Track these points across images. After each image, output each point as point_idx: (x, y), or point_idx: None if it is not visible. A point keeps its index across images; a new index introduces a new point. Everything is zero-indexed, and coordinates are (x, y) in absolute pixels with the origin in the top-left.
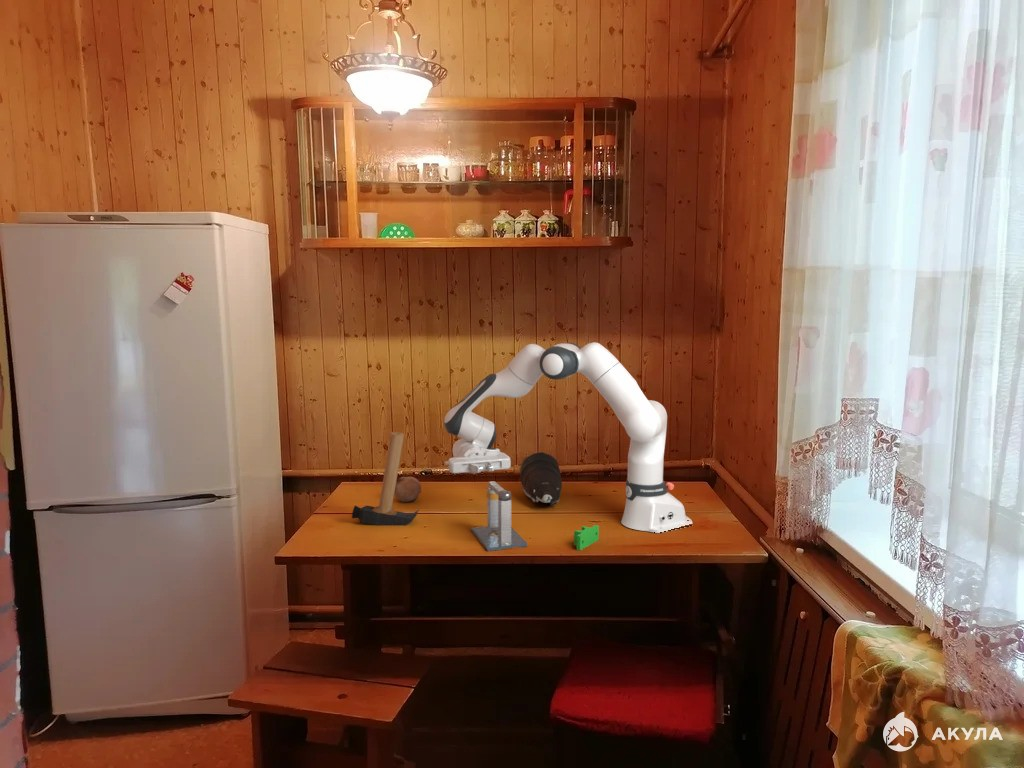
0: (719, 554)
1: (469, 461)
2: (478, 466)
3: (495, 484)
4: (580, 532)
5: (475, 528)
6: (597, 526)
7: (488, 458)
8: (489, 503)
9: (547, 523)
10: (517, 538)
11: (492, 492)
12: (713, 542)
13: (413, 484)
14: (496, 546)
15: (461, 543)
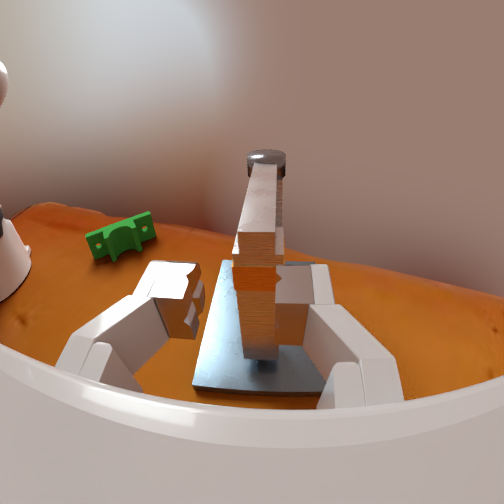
0: (59, 203)
1: (439, 401)
2: (313, 286)
3: (257, 202)
4: (133, 221)
5: (315, 381)
6: (90, 232)
7: (25, 443)
8: None
9: None
10: (228, 284)
11: None
12: (31, 221)
13: None
14: (294, 263)
15: (367, 317)
